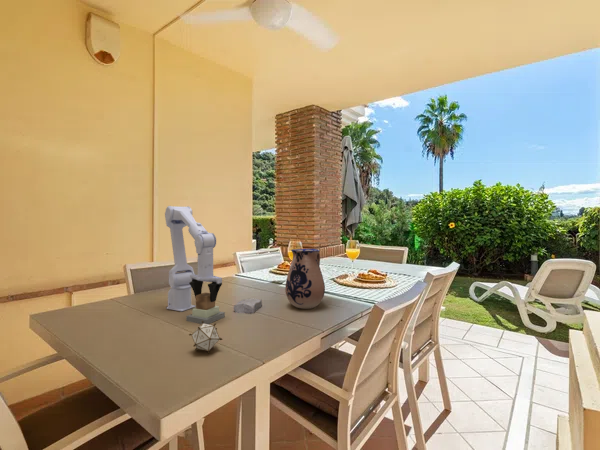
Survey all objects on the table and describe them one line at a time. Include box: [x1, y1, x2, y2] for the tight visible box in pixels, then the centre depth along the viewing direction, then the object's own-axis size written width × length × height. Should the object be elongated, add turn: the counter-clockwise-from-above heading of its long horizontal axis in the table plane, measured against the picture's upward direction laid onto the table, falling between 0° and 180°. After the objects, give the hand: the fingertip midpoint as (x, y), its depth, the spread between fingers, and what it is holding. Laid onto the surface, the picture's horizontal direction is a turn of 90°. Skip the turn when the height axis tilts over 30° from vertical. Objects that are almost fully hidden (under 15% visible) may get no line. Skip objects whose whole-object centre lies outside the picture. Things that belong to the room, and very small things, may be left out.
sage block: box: [191, 305, 220, 318], centre depth 116 cm, size 7×7×2 cm
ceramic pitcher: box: [284, 248, 326, 310], centre depth 134 cm, size 18×21×25 cm
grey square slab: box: [185, 310, 226, 325], centre depth 116 cm, size 10×10×2 cm
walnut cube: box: [195, 292, 216, 310], centre depth 115 cm, size 5×5×5 cm
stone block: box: [233, 297, 263, 314], centre depth 129 cm, size 12×5×10 cm
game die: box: [188, 321, 223, 355], centre depth 88 cm, size 9×8×10 cm
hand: (205, 300), depth 115 cm, fingers open, 7 cm apart
